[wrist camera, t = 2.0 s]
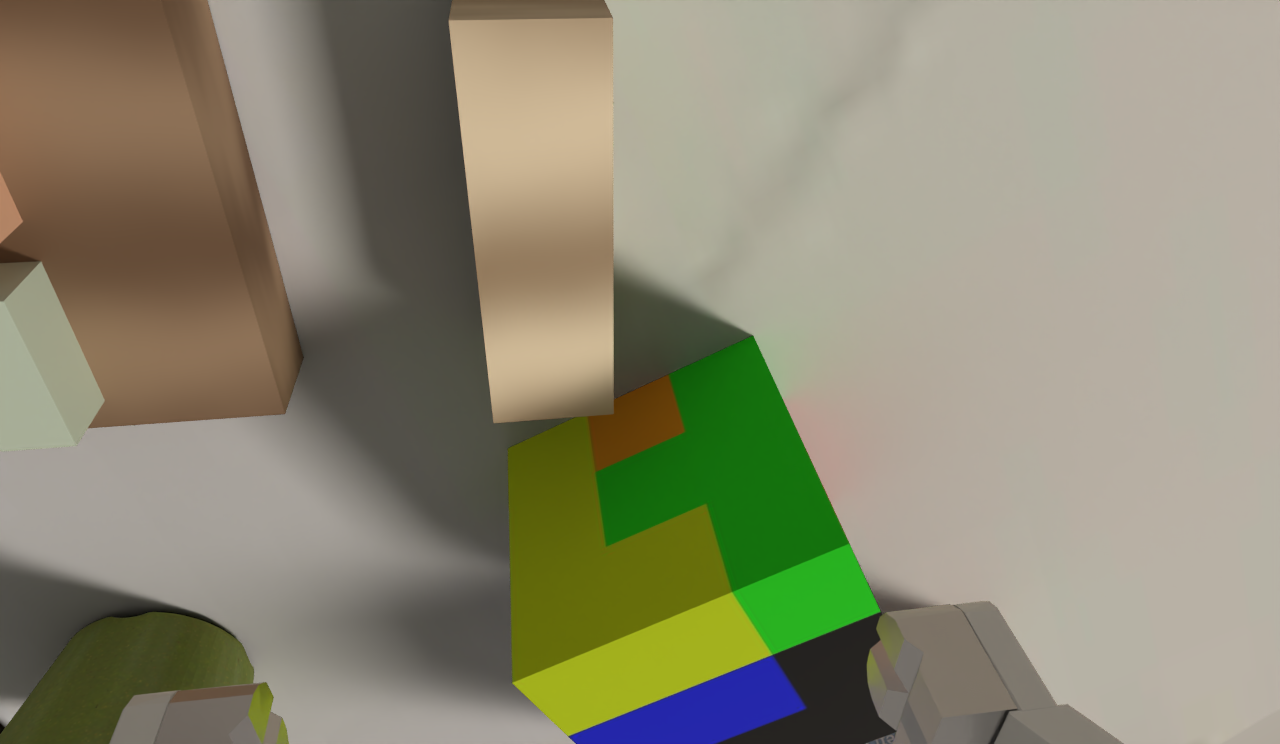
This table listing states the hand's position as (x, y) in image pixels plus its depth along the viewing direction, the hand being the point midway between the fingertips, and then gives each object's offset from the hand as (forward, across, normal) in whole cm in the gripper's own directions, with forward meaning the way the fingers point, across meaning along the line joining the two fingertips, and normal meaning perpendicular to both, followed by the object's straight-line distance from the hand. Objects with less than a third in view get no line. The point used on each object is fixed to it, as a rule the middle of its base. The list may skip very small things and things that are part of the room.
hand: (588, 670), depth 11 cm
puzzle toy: (+17, -5, +13) cm, 22 cm away
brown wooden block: (+17, +14, 0) cm, 22 cm away
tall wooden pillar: (+17, 0, 0) cm, 17 cm away
